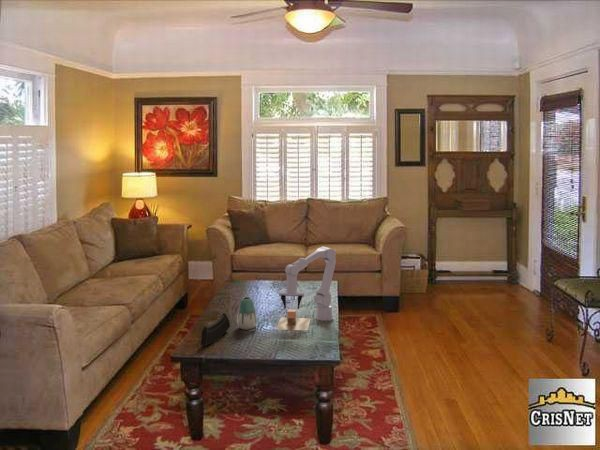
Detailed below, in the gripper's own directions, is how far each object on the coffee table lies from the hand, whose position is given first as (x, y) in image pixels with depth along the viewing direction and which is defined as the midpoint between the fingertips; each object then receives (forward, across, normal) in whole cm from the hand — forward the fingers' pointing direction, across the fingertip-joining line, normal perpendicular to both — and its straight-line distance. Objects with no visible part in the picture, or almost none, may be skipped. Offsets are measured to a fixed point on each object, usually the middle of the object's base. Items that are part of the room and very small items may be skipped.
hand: (291, 308), depth 353 cm
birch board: (+10, +1, +1) cm, 10 cm away
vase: (+11, -25, -7) cm, 28 cm away
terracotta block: (+5, 0, 0) cm, 5 cm away
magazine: (+11, -38, -28) cm, 48 cm away
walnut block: (+9, 0, 0) cm, 9 cm away
